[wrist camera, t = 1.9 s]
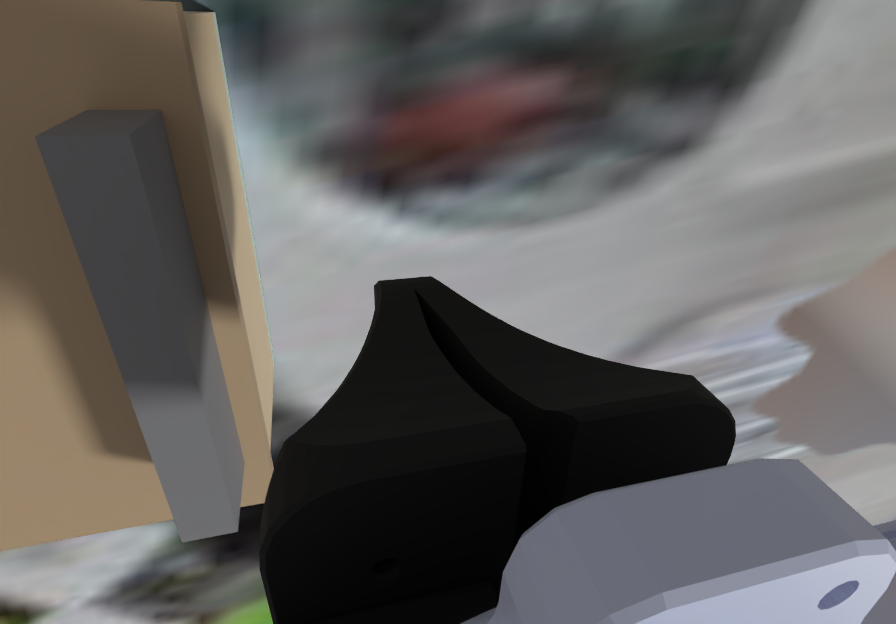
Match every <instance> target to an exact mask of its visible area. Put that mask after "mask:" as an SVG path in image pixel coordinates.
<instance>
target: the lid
mask: <svg viewBox="0 0 896 624" xmlns="http://www.w3.org/2000/svg"><path fill="white" fill-rule="evenodd" d="M273 471H274V467H273V462H272V457H271V452H270V447H269V442H268V437H267V432H266V427H265V422H264V417H263V411H262V406H261V401H260V396H259V391H258V386H257V381H256V376H255V371H254V366H253V361H252V356H251V351H250V346H249V341H248V336H247V331H246V326H245V321H244V316H243V310H242V305H241V300H240V295H239V290H238V285H237V280H236V275H235V270H234V265H233V260H232V255H231V250H230V245H229V240H228V235H227V230H226V225H225V220H224V214H223V209H222V204H221V199H220V194H219V189H218V184H217V179H216V174H215V169H214V164H213V159H212V154H211V149H210V144H209V139H208V134H207V129H206V124H205V118H204V113H203V108H202V103H201V98H200V93H199V88H198V83H197V78H196V73H195V68H194V63H193V58H192V53H191V48H190V43H189V38H188V33H187V28H186V22H185V17H184V12H183V7H182V2H171V1H145V0H0V551H3V550H9V549H14V548H20V547H25V546H31V545H36V544H42V543H47V542H53V541H58V540H64V539H69V538H75V537H80V536H85V535H91V534H96V533H102V532H107V531H113V530H118V529H124V528H129V527H135V526H140V525H146V524H151V523H157V522H162V521H168V520H173V519H174V521H175V524H176V527H177V529H178V532H179V535H180V538H181V540H182V542H187V541H192V540H198V539H203V538H208V537H213V536H218V535H224V534H229V533H234V532H238V525H239V515H240V507H245V506H250V505H256V504H261V503H265V498H266V494H267V490H268V486H269V483H270V480H271V477H272V474H273Z"/></svg>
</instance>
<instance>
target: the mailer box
mask: <svg viewBox="0 0 896 624" xmlns="http://www.w3.org/2000/svg"><path fill="white" fill-rule="evenodd" d="M183 12H184V17H185V22H186V28H187V33H188V38H189V43H190V48H191V53H192V58H193V63H194V68H195V73H196V78H197V83H198V88H199V93H200V98H201V103H202V108H203V113H204V118H205V124H206V129H207V134H208V139H209V144H210V149H211V154H212V159H213V164H214V169H215V174H216V179H217V184H218V189H219V194H220V199H221V204H222V209H223V214H224V220H225V225H226V230H227V235H228V240H229V245H230V250H231V255H232V260H233V265H234V270H235V275H236V280H237V285H238V290H239V295H240V300H241V305H242V310H243V316H244V321H245V326H246V331H247V336H248V341H249V346H250V351H251V356H252V361H253V366H254V371H255V376H256V381H257V386H258V391H259V396H260V401H261V406H262V411H263V417H264V422H265V427H266V432H267V437H268V442H269V447H270V449H271V427H272V405H273V382H274V354H273V348H272V342H271V336H270V331H269V325H268V319H267V313H266V307H265V301H264V295H263V290H262V284H261V278H260V272H259V266H258V260H257V255H256V249H255V243H254V237H253V231H252V225H251V219H250V214H249V208H248V202H247V196H246V190H245V184H244V178H243V173H242V167H241V161H240V155H239V149H238V143H237V138H236V132H235V126H234V120H233V114H232V108H231V102H230V97H229V91H228V85H227V79H226V73H225V67H224V61H223V56H222V50H221V44H220V38H219V32H218V26H217V21H216V15H215V12H196V11H183Z"/></svg>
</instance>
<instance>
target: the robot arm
mask: <svg viewBox="0 0 896 624" xmlns="http://www.w3.org/2000/svg"><path fill="white" fill-rule="evenodd" d="M374 296H375V311H374V316H373V320H372V324H371V327H370V330H369V332H368V335H367V338H366V340H365V343H364V345H363V348H362V350H361V352H360V354H359V356H358V358H357V360H356V361H355V363H354V365H353V367H352V369H351V370H350V372H349V373H348V375H347V376H346V378H345V379H344V381H343V382H342V384H341V385H340V387H339V388H338V389H337V391H336V392H335V393H334V394H333V395H332V397H331V398H330V399H329V400H328V401H327V402H326V403H325V405H324V406H323V407H322V408H321V409H320V410H319V412H318V413H317V414H316V415H315V416H314V417H313V418H312V419H311V420H309V421H308V422H307V423H306V424H305V425H304V426H302V427H301V428H300V429H299V430H298V431H297V432H295V433H294V434H293V435H292V436H290V437H289V438H288V439H287V440H286V441H285V442H284V444H283V446H282V449H281V451H280V454H279V457H278V459H277V462H276V465H275V467H274V471H273V474H272V477H271V480H270V483H269V486H268V490H267V494H266V498H265V503H264V508H263V512H262V518H261V527H260V549H259V554H260V572H261V576H262V580H263V584H264V588H265V592H266V596H267V600H268V604H269V608H270V612H271V616H272V620H273V624H896V520H894V521H890V522H886V523H882V524H879V525H875V526H872V525H871V524H870V523H869V522H868V521H867V520H865V519H864V518H863V517H862V516H861V515H860V514H859V513H858V512H856V511H855V510H854V509H853V508H852V507H851V506H850V505H849V504H847V503H846V502H845V501H844V500H843V499H842V498H841V497H840V496H839V495H837V494H836V493H835V492H834V491H833V490H832V489H831V488H830V487H828V486H827V485H826V484H825V483H824V482H823V481H822V480H821V479H819V478H818V477H817V476H816V475H815V474H814V473H813V472H812V471H810V470H809V469H808V468H807V467H806V466H805V465H804V464H803V463H801V462H800V461H799V460H794V459H754V460H749V461H744V462H740V463H735V464H730V465H727V463H728V460H729V458H730V456H731V453H732V449H733V446H734V442H735V437H736V429H735V420H734V418H733V416H732V414H731V412H730V410H729V409H728V408H727V407H726V406H725V405H724V404H723V403H722V402H721V401H720V400H718V399H717V398H716V397H715V396H714V395H713V394H712V393H711V392H710V391H709V390H708V389H707V388H705V387H704V386H703V385H702V384H701V383H700V382H699V381H698V380H697V379H696V378H695V377H694V376H692V375H685V374H679V373H672V372H665V371H659V370H652V369H646V368H640V367H635V366H630V365H626V364H621V363H617V362H612V361H608V360H604V359H600V358H596V357H593V356H589V355H585V354H582V353H579V352H576V351H573V350H570V349H567V348H564V347H561V346H558V345H555V344H552V343H550V342H547V341H545V340H542V339H540V338H538V337H535V336H533V335H531V334H528V333H526V332H524V331H521V330H519V329H517V328H515V327H513V326H511V325H509V324H507V323H506V322H504V321H502V320H500V319H498V318H496V317H495V316H493V315H491V314H489V313H488V312H486V311H484V310H482V309H481V308H479V307H478V306H476V305H474V304H473V303H471V302H470V301H468V300H467V299H465V298H464V297H462V296H460V295H459V294H458V293H456V292H455V291H453V290H452V289H450V288H449V287H447V286H446V285H444V284H443V283H441V282H440V281H438V280H436V279H435V278H433V277H431V276H429V277H417V278H406V279H395V280H383V281H378V282H377V283H376V284H375V285H374Z"/></svg>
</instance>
